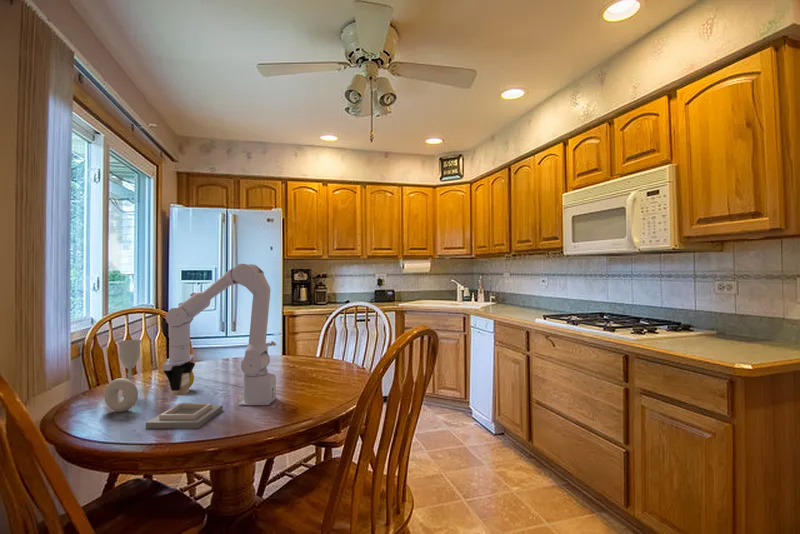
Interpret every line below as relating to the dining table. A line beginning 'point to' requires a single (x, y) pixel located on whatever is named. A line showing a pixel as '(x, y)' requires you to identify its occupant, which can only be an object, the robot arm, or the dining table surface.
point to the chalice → (129, 355)
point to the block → (182, 385)
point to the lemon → (191, 379)
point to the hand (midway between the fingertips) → (179, 388)
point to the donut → (129, 392)
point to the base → (185, 416)
